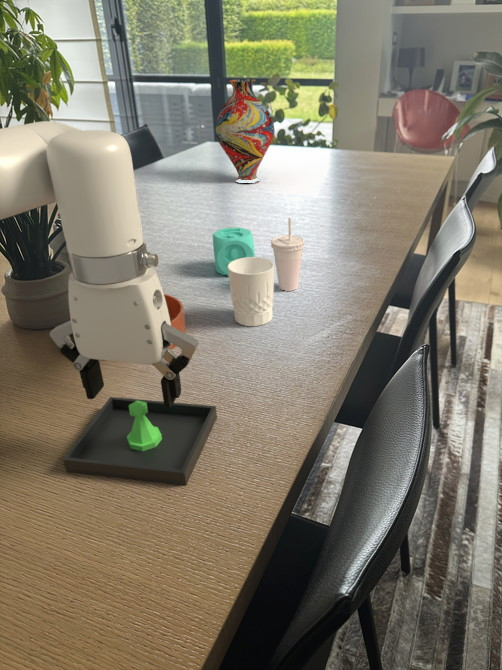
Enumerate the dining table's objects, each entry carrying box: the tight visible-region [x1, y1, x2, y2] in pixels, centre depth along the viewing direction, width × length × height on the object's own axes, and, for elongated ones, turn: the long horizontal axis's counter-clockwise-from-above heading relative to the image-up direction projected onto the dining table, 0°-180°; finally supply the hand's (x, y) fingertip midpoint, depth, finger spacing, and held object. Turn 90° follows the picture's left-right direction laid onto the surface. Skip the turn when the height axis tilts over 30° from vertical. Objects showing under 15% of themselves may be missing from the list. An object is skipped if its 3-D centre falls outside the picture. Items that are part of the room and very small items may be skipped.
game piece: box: [127, 401, 162, 451], centre depth 68 cm, size 4×4×6 cm
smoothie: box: [270, 217, 305, 292], centre depth 106 cm, size 6×6×14 cm
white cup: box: [228, 256, 275, 327], centre depth 96 cm, size 8×8×10 cm
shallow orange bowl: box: [164, 293, 187, 350], centre depth 93 cm, size 16×16×4 cm
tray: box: [62, 396, 218, 486], centre depth 69 cm, size 15×13×2 cm
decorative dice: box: [212, 227, 256, 277], centre depth 116 cm, size 8×8×8 cm
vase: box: [215, 78, 275, 180], centre depth 176 cm, size 19×19×30 cm
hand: (133, 396), depth 66 cm, fingers open, 9 cm apart
